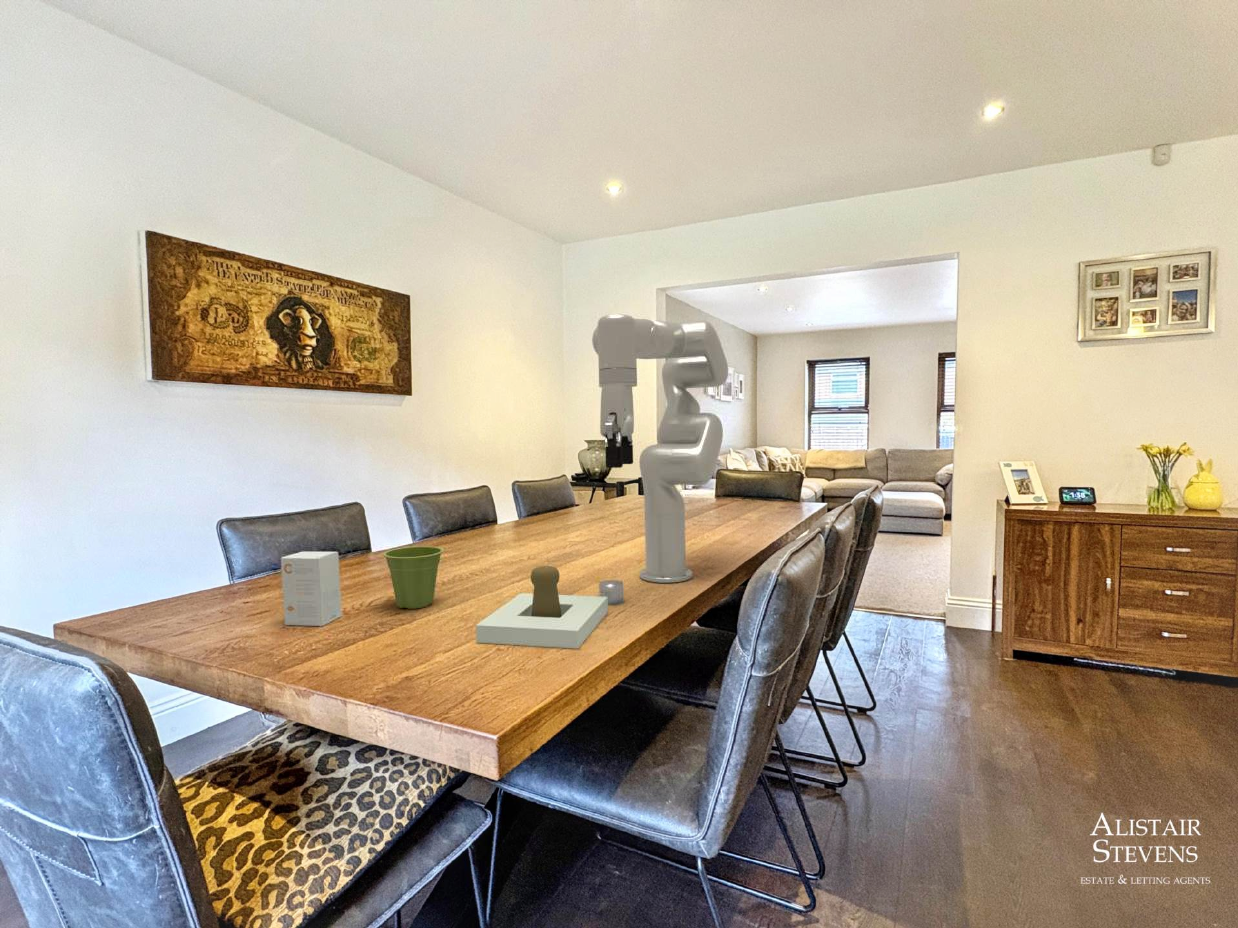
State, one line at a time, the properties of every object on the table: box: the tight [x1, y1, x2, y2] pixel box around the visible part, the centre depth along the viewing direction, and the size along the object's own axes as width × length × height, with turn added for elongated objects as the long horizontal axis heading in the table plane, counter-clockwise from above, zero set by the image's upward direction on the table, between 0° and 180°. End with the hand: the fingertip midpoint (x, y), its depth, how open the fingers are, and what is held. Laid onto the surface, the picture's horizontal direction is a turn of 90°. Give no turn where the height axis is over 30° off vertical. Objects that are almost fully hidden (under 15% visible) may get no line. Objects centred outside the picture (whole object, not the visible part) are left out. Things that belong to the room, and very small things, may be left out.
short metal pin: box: [598, 579, 625, 606], centre depth 127 cm, size 5×5×4 cm
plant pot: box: [382, 545, 444, 610], centre depth 128 cm, size 12×12×11 cm
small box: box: [280, 551, 343, 627], centre depth 118 cm, size 8×6×13 cm
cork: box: [530, 565, 562, 618], centre depth 111 cm, size 6×6×11 cm
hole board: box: [475, 592, 609, 650], centre depth 112 cm, size 20×18×3 cm
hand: (620, 465), depth 122 cm, fingers open, 9 cm apart
